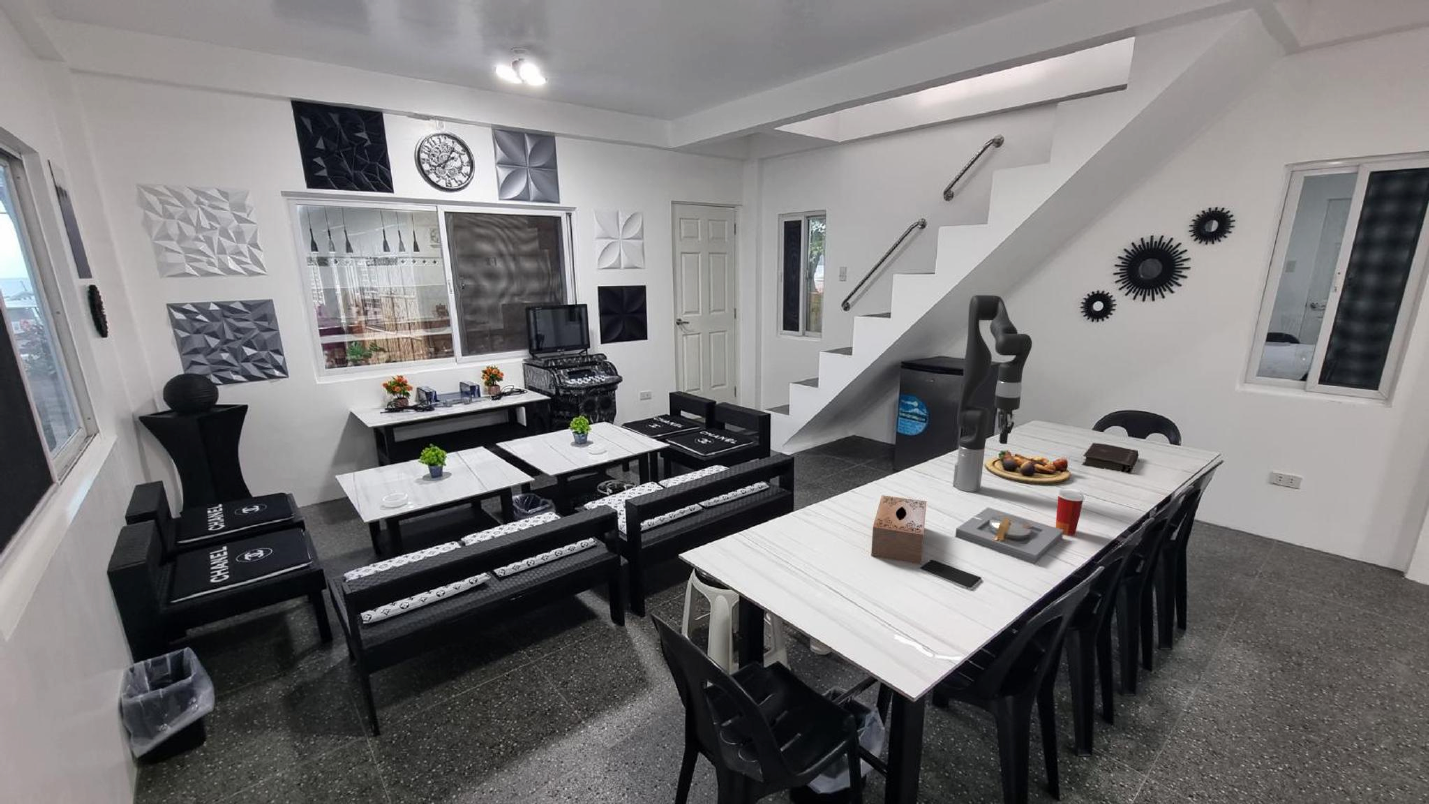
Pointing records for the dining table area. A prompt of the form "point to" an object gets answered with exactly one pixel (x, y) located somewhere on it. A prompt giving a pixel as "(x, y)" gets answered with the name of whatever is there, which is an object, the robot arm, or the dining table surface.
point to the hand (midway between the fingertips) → (1002, 443)
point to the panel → (1024, 550)
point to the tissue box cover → (899, 529)
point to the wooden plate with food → (1028, 469)
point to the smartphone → (951, 574)
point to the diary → (1110, 457)
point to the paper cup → (1068, 510)
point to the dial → (1010, 527)
